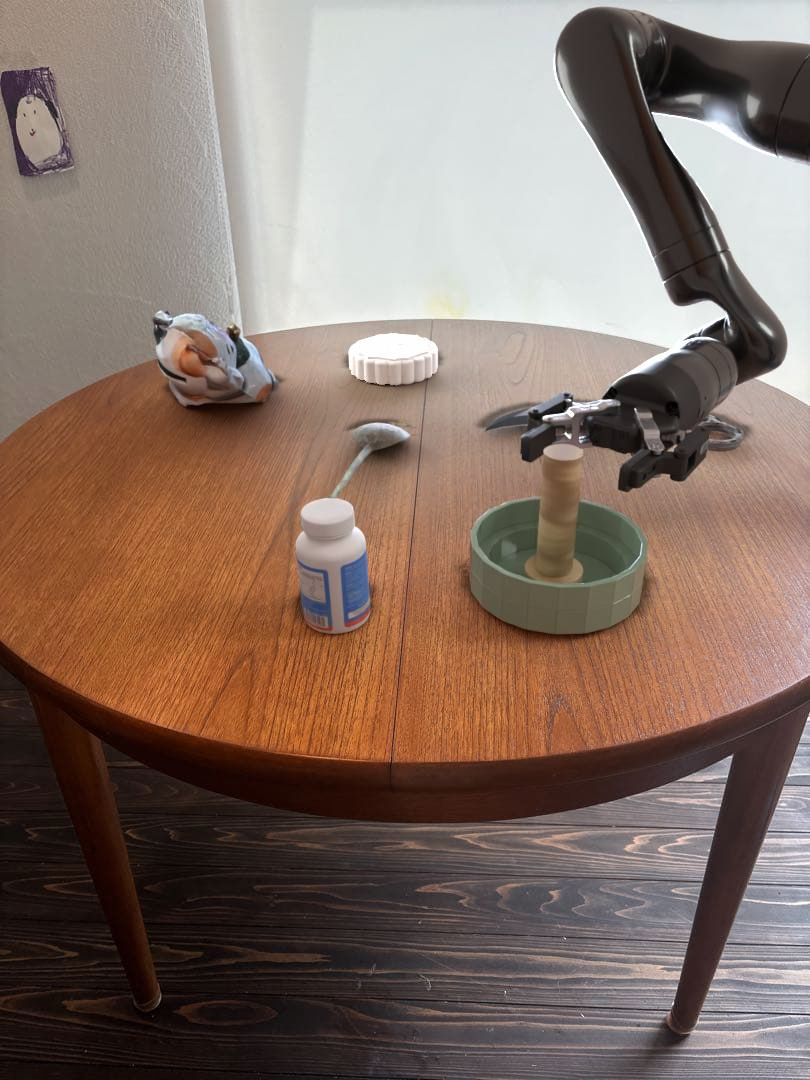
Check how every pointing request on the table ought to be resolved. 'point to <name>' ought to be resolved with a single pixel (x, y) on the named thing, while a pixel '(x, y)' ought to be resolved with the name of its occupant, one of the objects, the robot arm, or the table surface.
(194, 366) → the lucky cat figurine
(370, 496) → the table surface
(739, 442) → the knife
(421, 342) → the mooncake
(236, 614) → the table surface
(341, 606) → the pill bottle
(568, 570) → the muddler
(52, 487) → the table surface
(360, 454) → the soupspoon
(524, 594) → the bowl
